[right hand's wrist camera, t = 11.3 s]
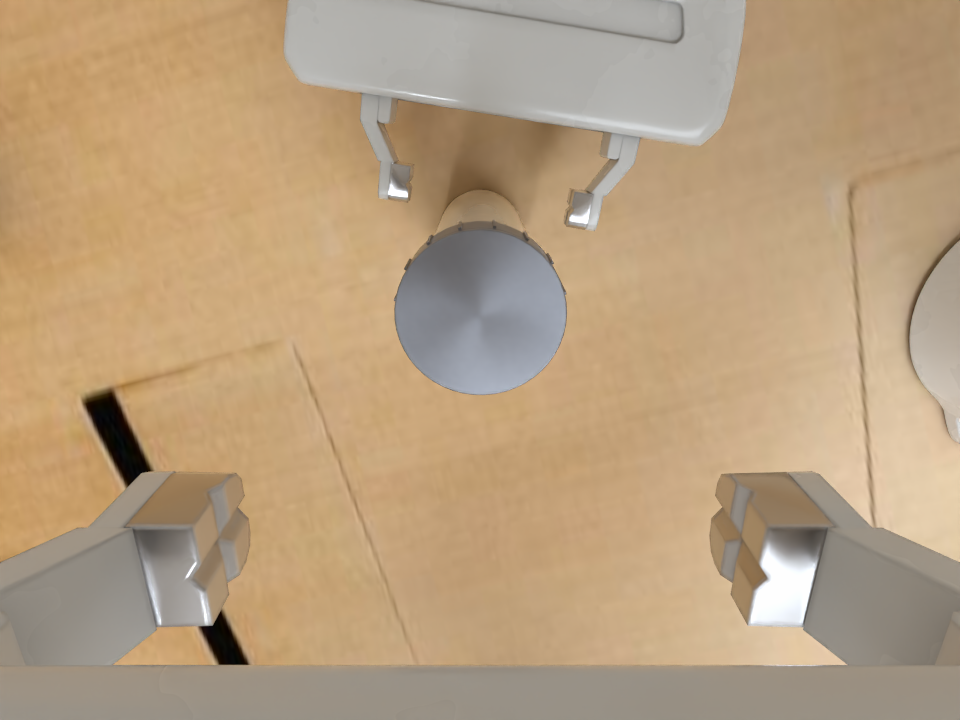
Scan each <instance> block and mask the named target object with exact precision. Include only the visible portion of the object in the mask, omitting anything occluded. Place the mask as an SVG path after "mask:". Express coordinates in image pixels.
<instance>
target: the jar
mask: <svg viewBox="0 0 960 720" xmlns="http://www.w3.org/2000/svg"><path fill="white" fill-rule="evenodd" d="M492 220H496V223H501V224H504V225H507V226H510V227H512V228H515V229H517V230H519V231H521V232H522V233H523V232H524V231H525V229H524V227H523V224H522V222H521V220H520V217H519V215H518V213H517V211H516V209H515V208H514V206H513V205H512V204H511V203H510V202H509V201H508V200H507V199H506V198H505V197H503V196H501V195H500V194H498V193H495V192H492V191H488V190H473V191H469V192H466V193H464V194H462V195H460V196H458V197H457V198H455V199H454V200H453V201H452V202H451V203H450V204H449V205H448V207H447V208H446V210H445V211H444V213H443V216H442V218H441V220H440V223H439V225H438V228H437V230H436V232H435V235H436V234H437V233H439V232H441V231H443V230H444V229H446V228H449V227H451V226H454V225H457V224H459V222H460V221H462V223H465V222H473V221H490V222H492ZM525 232H526V231H525Z"/></svg>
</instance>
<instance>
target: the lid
mask: <svg viewBox="0 0 960 720" xmlns="http://www.w3.org/2000/svg"><path fill="white" fill-rule="evenodd" d="M552 264H554V263H553V261H552V259H551V257H550V255H549V254H548V253H547V254H545V252H544V251H543V250H542V249H541V247H540V246H539V245H538V244H537V243H536V242H535V241H533V240H532V239H531V238H530V237H529V236H528V235H527V233H526V232H525V231H524V232H523V233H522V232H521V231H519V230H517V229H515V228H512V227H510V226H507V225H504V224H501V223H496V220H492V222H490V221H473V222H465V223H462V221H460V222H459V224H457V225H454V226H451V227H449V228H446V229H444V230H443V231H441V232H439V233H437V234H436V235H434V236H433V235H430V236H429V239H428V241H427V242H426V243H425V244H424V245H423V246H422V247H421V248H420V249H419V250H418V251H417V253H416V254H415V255H414V257H413V259H409V261H408V262H407V264H406V266H405V268H404V270H406V271H405V273H404V275H403V277H402V280H401V282H400V285H399V287H398V291H397V294H396V296H395V298H394V301H395V324H396V330H397V333H398V337H399V340H400V342H401V345H402V347H403V349H404V351H405V352H406V354H407V356H408V357H409V359H410V360H411V361H412V363H413V364H414V365H415V366H416V367H417V368H418V369H419V370H420V371H421V372H422V373H423V374H424V375H425V376H427V377H428V378H429V379H431V380H432V381H434V382H435V383H437V384H439V385H441V386H443V387H445V388H448V389H450V390H453V391H457V392H460V393H465V394H472V395H488V394H496V393H501V392H505V391H508V390H511V389H514V388H516V387H518V386H520V385H522V384H524V383H526V382H527V381H529V380H531V379H532V378H534V377H535V376H536V375H537V374H538V373H539V372H541V371H542V370H543V369H544V368H545V366H546V365H547V364H548V363H549V362H550V361H551V359H552V358H553V356H554V355H555V353H556V351H557V349H558V347H559V346H560V343H561V341H562V338H563V335H564V331H565V327H566V318H567V306H566V298H565V295H566V291H565V289H564V287H563V285H562V283H561V281H560V279H559V277H558V275H557V273H556V271H555V269H554V267H553V265H552Z"/></svg>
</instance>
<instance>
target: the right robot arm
mask: <svg viewBox="0 0 960 720" xmlns="http://www.w3.org/2000/svg"><path fill="white" fill-rule="evenodd" d="M244 496H245V495H244V490H243V485H242V480H241V478H240V477H239V476H238V475H237V474H236V473H212V472H174V471H168V472H146V473H141V474H140V475H139V476H138V477H137V478H136V479H135V480H134V481H133V482H132V483H131V485H130V486H129V487H128V488H127V489H126V490H125V491H124V492H123V493H122V494H121V495H120V496H119V497H118V498H117V499H116V500H115V501H114V502H113V503H112V504H111V505H110V506H109V507H108V508H107V509H106V510H105V511H104V512H103V513H102V514H101V515H100V516H99V517H98V518H97V519H96V520H95V521H94V522H93V523H92V524H91V525H90V526H89V527H88V528H76V529H74V530H72V531H69V532H67V533H65V534H63V535H61V536H58V537H56V538H54V539H52V540H49V541H47V542H45V543H43V544H40V545H38V546H36V547H34V548H31V549H29V550H27V551H25V552H22V553H20V554H18V555H16V556H14V557H11V558H9V559H7V560H5V561H2V562H0V720H960V562H957V561H955V560H953V559H951V558H949V557H946V556H944V555H942V554H940V553H937V552H935V551H933V550H931V549H928V548H926V547H924V546H922V545H920V544H917V543H915V542H913V541H911V540H908V539H906V538H904V537H902V536H899V535H897V534H895V533H893V532H891V531H888V530H886V529H884V528H872V527H871V526H870V525H869V524H868V523H867V522H866V521H865V520H864V519H863V518H862V517H861V516H860V515H859V514H858V513H857V512H856V511H855V510H854V509H853V508H852V507H851V506H850V505H849V504H848V503H847V502H846V501H845V500H844V499H843V498H842V497H841V495H840V494H839V493H838V492H837V491H836V490H835V489H834V488H833V487H832V486H831V485H830V484H829V483H828V482H827V481H826V480H825V479H824V478H823V477H822V476H821V475H820V474H818V473H815V472H812V471H803V472H774V473H734V474H721V476H720V479H719V481H718V483H717V489H716V495H715V496H716V498H717V499H718V501H719V502H720V504H721V506H722V508H721V509H720V510H719V511H718V512H717V513H716V514H715V515H714V516H713V517H712V520H711V528H710V546H711V553H712V557H713V560H714V563H715V565H716V567H717V569H718V571H719V573H720V575H721V576H723V577H724V578H726V579H727V580H729V581H730V582H732V583H733V584H732V590H731V596H732V598H733V599H734V601H735V603H736V605H737V607H738V609H739V610H740V612H741V614H742V616H743V618H744V620H745V621H746V623H747V625H748V626H780V627H804V628H803V630H804V631H806V632H807V633H808V634H809V635H811V636H812V637H813V638H814V639H816V640H817V641H818V642H819V643H821V644H822V645H823V646H825V647H826V648H827V649H828V650H830V651H831V652H832V653H833V654H835V655H836V656H837V657H839V658H840V659H841V660H842V661H844V662H845V663H846V664H847V665H113V664H114V663H115V662H117V661H118V660H119V659H120V658H122V657H123V656H124V655H126V654H127V653H128V652H129V651H131V650H132V649H133V648H134V647H136V646H137V645H138V644H139V643H141V642H142V641H143V640H145V639H146V638H147V637H148V636H150V635H151V634H152V633H153V632H155V631H156V630H157V628H156V627H179V626H212V625H213V623H214V622H215V620H216V618H217V616H218V614H219V612H220V610H221V609H222V607H223V605H224V603H225V601H226V599H227V598H228V596H229V590H228V584H227V583H228V582H230V581H231V580H233V579H234V578H236V577H237V576H239V575H240V573H241V571H242V569H243V567H244V565H245V563H246V560H247V556H248V552H249V547H250V526H249V519H248V517H247V516H246V515H245V514H244V513H243V512H242V511H241V510H240V509H239V508H238V506H239V504H240V502H241V501H242V499H243V498H244Z"/></svg>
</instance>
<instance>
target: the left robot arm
mask: <svg viewBox="0 0 960 720" xmlns="http://www.w3.org/2000/svg"><path fill="white" fill-rule="evenodd" d="M745 15H746V0H288V3H287V12H286V20H285V32H284V57H285V60H286V62H287V64H288V65H289V67H290V69H291V70H292V72H293V73H294V75H295V76H296V78H297V79H298V80H299V81H300V82H301V83H304V84H307V85H311V86H317V87H323V88H329V89H335V90H341V91H348V92H354V93H360V94H362V100H361V114H360V121H361V123H362V125H363V128H364V130H365V132H366V134H367V137H368V139H369V141H370V144H371V146H372V148H373V150H374V153H375V155H376V157H377V159H378V161H381V163H380V175H379V187H378V198H380V199H385V200H393V201H401V202H408V201H410V198H411V192H412V185H411V183H410V180H411V179H412V178H413V173H414V164H410V163H404V162H398V161H399V160H398V158H397V155H396V153H395V150H394V148H393V145H392V143H391V140H390V138H389V135H388V133H387V130H386V128H385V125H384V123H387V124H393V123H395V122H396V113H397V103H398V100H404V101H410V102H416V103H423V104H429V105H435V106H441V107H448V108H454V109H460V110H467V111H473V112H479V113H485V114H492V115H498V116H504V117H510V118H517V119H523V120H529V121H535V122H542V123H548V124H554V125H560V126H567V127H573V128H579V129H585V130H592V131H598V132H603V137H602V142H601V147H600V152H599V154H600V156H601V157H605V158H608V159H609V160H608V162H607V163H606V164H605V165H604V167H603V168H602V169H601V170H600V172H599V173H598V174H597V175H596V177H595V178H594V179H593V180H592V182H591V183H590V184H589V185H588V187H587V188H586V189H585V190H578V189H571V188H570V190H569V195H568V200H567V202H568V204H569V207H568V208H567V209H566V210H565V215H564V224H565V225H566V226H567V227H572V228H578V229H584V230H591V231H595V229H596V227H597V224H598V220H599V215H600V211H601V206H602V201H603V197H604V196H607V195H608V193H609V192H610V191H611V190H612V189H613V188H614V186H615V185H616V184H617V183H618V182H619V181H620V179H621V178H622V177H623V176H624V175H625V174H626V173H627V171H628V170H629V169H630V168H631V167H632V166H633V164H634V163H635V159H636V154H637V150H638V146H639V142H640V138H642V139H648V140H654V141H661V142H667V143H673V144H680V145H686V146H700V145H702V144H704V143H705V142H706V141H707V140H708V139H710V138H711V137H712V136H713V135H714V134H715V133H716V132H717V131H718V130H719V129H720V128H721V126H722V125H723V123H724V120H725V117H726V114H727V111H728V107H729V103H730V99H731V96H732V91H733V87H734V82H735V78H736V73H737V68H738V62H739V57H740V51H741V45H742V38H743V31H744V23H745ZM909 344H910V354H911V359H912V363H913V366H914V369H915V371H916V373H917V375H918V377H919V379H920V381H921V382H922V384H923V385H924V387H925V388H926V389H927V390H928V391H929V392H930V393H931V395H932V396H933V397H934V398H935V399H936V400H937V401H938V402H939V404H940V405H941V406H942V408H943V410H944V415H945V420H946V425H947V429H948V432H949V434H950V436H951V438H952V439H953V440H954V441H955V442H957V443H959V444H960V240H959V241H958V242H957V243H956V244H955V245H954V246H953V247H952V248H951V249H950V250H949V251H948V252H947V253H946V254H945V256H944V257H943V258H942V259H941V260H940V262H939V263H938V264H937V266H936V267H935V268H934V270H933V271H932V273H931V274H930V276H929V278H928V279H927V281H926V283H925V285H924V287H923V288H922V291H921V293H920V295H919V297H918V300H917V302H916V305H915V308H914V312H913V316H912V320H911V326H910V336H909Z"/></svg>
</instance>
